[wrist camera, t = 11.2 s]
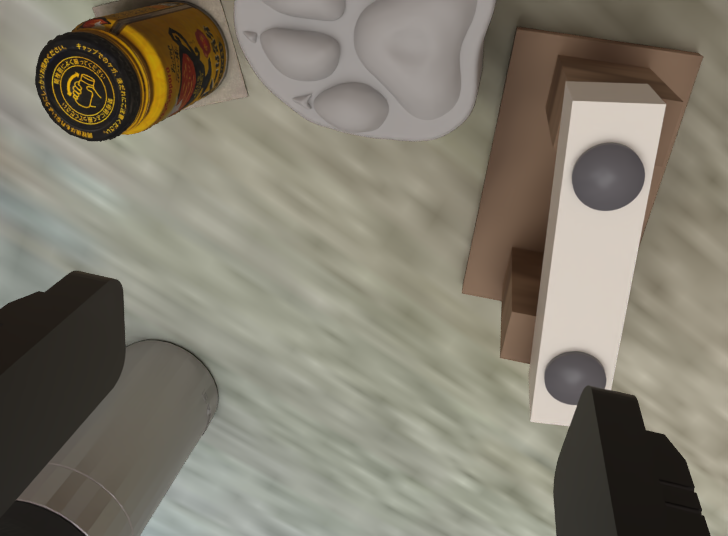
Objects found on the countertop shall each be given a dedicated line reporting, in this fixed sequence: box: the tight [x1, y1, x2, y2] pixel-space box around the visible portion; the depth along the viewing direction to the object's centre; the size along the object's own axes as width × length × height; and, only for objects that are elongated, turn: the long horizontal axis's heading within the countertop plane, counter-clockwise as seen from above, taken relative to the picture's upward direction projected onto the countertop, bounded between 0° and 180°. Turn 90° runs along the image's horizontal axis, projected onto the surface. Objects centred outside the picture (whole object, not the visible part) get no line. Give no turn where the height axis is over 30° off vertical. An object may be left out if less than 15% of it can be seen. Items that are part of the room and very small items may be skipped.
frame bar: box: [529, 81, 666, 426], centre depth 32 cm, size 16×4×4 cm, turn 0°
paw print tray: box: [234, 0, 496, 141], centre depth 36 cm, size 10×13×9 cm
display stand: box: [462, 27, 703, 364], centre depth 38 cm, size 10×17×10 cm, turn 173°
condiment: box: [35, 0, 248, 141], centre depth 38 cm, size 7×8×12 cm
